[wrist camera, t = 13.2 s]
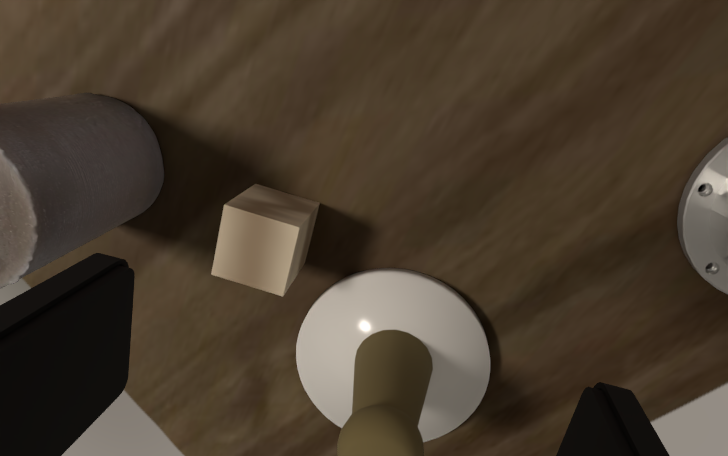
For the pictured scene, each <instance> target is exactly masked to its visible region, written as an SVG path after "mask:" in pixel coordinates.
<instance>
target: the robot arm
mask: <svg viewBox="0 0 728 456" xmlns="http://www.w3.org/2000/svg"><path fill="white" fill-rule="evenodd" d="M701 185H703V186H702V188H701V189H700V190H698V188H699V187H700V186H701ZM677 227H678V236H679V241H680V244H681V247H682V249H683V252H684V255H685V256H686V258H687V259H688V261H689V263H690V264H691V266H692V267H693V268H694V269H695V270H696V271H697V272H698V273H699V274H700V275H701V276H702V277H703V278H704V279H705V280H706V281H707V282H709V283H710V284H711V285H713V286H714V287H715V288H717V289H718V290H720V291H722V292H724V293H726V294H728V137H727V138H725V139H724V140H722V141H721V142H720V143H719V144H718V145H717V146H716V147H715V148H714V149H712V150H711V151H710V152H709V153H708V154H707V155H706V156H705V157H704V159H703V160H702V161H701V162H700V164H699V165H698V166H697V167H696V169H695V170H694V171H693V173H692V175H691V177H690V179H689V181H688V182H687V184H686V186H685V188H684V191H683V194H682V197H681V200H680V203H679V209H678V218H677ZM708 264H709V265H708ZM707 265H708V266H707ZM133 292H134V271H133V270H132V269H131V268H129V267H128V263H127V262H126V261H125V260H124V259H120V258H116V257H112V256H108V255H104V254H100V253H96V254H93V255H91V256H89V257H88V258H86V259H84V260H82V261H80V262H78V263H77V264H75V265H73V266H71V267H69V268H68V269H66V270H64V271H62V272H60V273H58V274H57V275H55V276H53V277H51V278H49V279H48V280H46V281H44V282H42V283H40V284H38V285H37V286H35V287H33V288H31V289H29V290H28V291H26V292H24V293H22V294H20V295H19V296H17V297H15V298H13V299H11V300H9V301H8V302H6V303H4V304H2V305H0V456H61V455H62V454H63V453H64V452H65V451H66V450H67V449H68V448H69V447H70V446H71V445H72V444H73V443H74V442H75V441H76V440H77V439H78V438H79V437H80V436H81V435H82V434H83V433H84V432H85V431H86V429H87V428H88V427H89V426H90V425H91V424H92V423H93V422H94V421H95V420H96V419H97V418H98V417H99V416H100V415H101V414H102V413H103V412H104V411H105V410H106V409H107V408H108V407H109V406H110V405H111V404H112V403H113V402H114V400H115V399H117V397H118V396H119V395H120V394H121V393H122V391H123V390H124V388H125V386H126V383H127V380H128V370H129V355H130V339H131V324H132V308H133ZM556 456H669V454H668V452H667V451H666V449H665V447H664V445H663V444H662V442H661V440H660V439H659V437H658V435H657V433H656V432H655V430H654V428H653V427H652V425H651V423H650V421H649V419H648V418H647V416H646V414H645V413H644V411H643V409H642V407H641V406H640V404H639V402H638V400H637V399H636V397H635V395H634V394H633V392H632V391H631V390H628V389H624V388H620V387H617V386H613V385H609V384H605V383H601V382H599V383H597V384H596V385H595V386H594V388H591V387H587V388H585V390H584V391H583V393H582V395H581V398H580V400H579V402H578V405H577V407H576V410H575V412H574V414H573V417H572V419H571V422H570V424H569V426H568V429H567V431H566V434H565V436H564V438H563V441H562V443H561V446H560V448H559V450H558V453H557V455H556Z"/></svg>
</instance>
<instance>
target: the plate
mask: <svg viewBox="0 0 728 456" xmlns="http://www.w3.org/2000/svg"><path fill="white" fill-rule="evenodd" d="M382 330H400V331H404V332H408V333H410V334H411V335H413V336H415V337H417V338H418V339H419V340H420V341H421V342H422V343H423V344H424V345H425V346H426V347H427V348H428V351H429V353H430V355H431V357H432V364H433V370H432V374H431V378H430V382H429V386H428V390H427V393H426V397H425V401H424V405H423V409H422V412H421V416H420V420H419V424H418V429H419V431H420V433H421V436H422V439H423V442H426V441H429V440H432V439H435V438H438V437H440V436H443V435H445V434H447V433H449V432H450V431H452V430H454V429H455V428H457V427H458V426H459V425H461V424H462V423H463V422H464V421H466V420H467V419H468V418H469V416H470V415H471V414H472V413H473V412H474V411H475V409H476V408H477V407H478V405H479V404H480V402H481V400H482V398H483V396H484V394H485V392H486V389H487V386H488V382H489V376H490V354H489V347H488V342H487V338H486V334H485V331H484V328H483V326H482V324H481V322H480V320H479V318H478V316H477V315H476V313H475V312H474V310H473V309H472V307H471V306H470V305H469V304H468V303H467V302H466V300H465V299H464V298H463V297H462V296H460V295H459V294H458V293H457V292H456V291H455V290H453V289H452V288H451V287H449V286H448V285H446V284H445V283H443V282H441V281H439V280H437V279H435V278H433V277H431V276H428V275H426V274H423V273H420V272H416V271H412V270H408V269H400V268H377V269H370V270H365V271H361V272H358V273H354V274H352V275H350V276H347V277H345V278H343V279H341V280H339V281H338V282H336V283H334V284H333V285H332V286H330V287H329V288H328V289H327V290H325V291H324V292H323V293H322V294H321V295H320V296H319V297H318V298H317V300H316V301H315V302H314V304H313V305H312V307H311V308H310V310H309V312H308V314H307V316H306V318H305V320H304V322H303V324H302V326H301V329H300V332H299V335H298V340H297V346H296V360H297V368H298V372H299V376H300V379H301V382H302V384H303V386H304V389H305V391H306V392H307V394H308V396H309V397H310V399H311V400H312V402H313V403H314V404H315V406H316V407H317V408H318V409H319V410H320V411H321V412H322V413H323V414H324V415H325V416H326V417H327V418H328V419H329V420H331V421H332V422H333V423H334V424H336V425H337V426H339V427H341V428H342V427H343V426H344V425H345V423H346V422H347V420H348V419H349V417H350V416H351V415H352V403H353V384H354V364H355V357H356V352H357V349H358V348H359V346H360V344H361V343H362V341H363V340H365V339H366V338H367V337H369V336H370V335H371V334H373V333H376V332H379V331H382Z"/></svg>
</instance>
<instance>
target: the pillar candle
mask: <svg viewBox="0 0 728 456" xmlns="http://www.w3.org/2000/svg"><path fill="white" fill-rule="evenodd" d="M163 182H164V167H163V160H162V154H161V151H160V147H159V144H158V141H157V138H156V136H155V133H154V132H153V130H152V129H151V127H150V125H149V124H148V123H147V122H146V120H145V119H144V118H143V117H142V116H141V115H140V114H139V113H137V112H136V111H135V110H134V109H133V108H132V107H130V106H129V105H127V104H125V103H123V102H121V101H119V100H117V99H114V98H111V97H107V96H102V95H96V94H92V93H82V94H75V95H69V96H62V97H55V98H45V99H37V100H29V101H21V102H13V103H5V104H0V288H2V287H5V286H7V285H9V284H14V283H16V282H18V281H19V279H20V278H22V277H24V276H26V275H27V274H30V273H31V272H33V271H35V270H37V269H39V268H41V267H43V266H45V265H47V264H48V263H50V262H52V261H54V260H56V259H58V258H59V257H62V256H63V255H65V254H67V253H69V252H70V251H72V250H74V249H76V248H78V247H80V246H82V245H84V244H86V243H87V242H89V241H91V240H93V239H95V238H97V237H99V236H101V235H103V234H104V233H106V232H108V231H110V230H112V229H113V228H115V227H117V226H119V225H121V224H123V223H125V222H126V221H128V220H130V219H132V218H134V217H136V216H138V215H140V214H141V213H143V212H144V211H145V210H146V209H148V208H149V207H150V206H151V205H152V204H153V202H154V201H155V200H156V198H157V197H158V195H159V193H160V190H161V188H162V185H163Z"/></svg>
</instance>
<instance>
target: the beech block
mask: <svg viewBox="0 0 728 456" xmlns="http://www.w3.org/2000/svg"><path fill="white" fill-rule="evenodd" d="M319 205H320V203H318V202H315V201H311V200H308V199H305V198H301V197H298V196H295V195H291V194H288V193H285V192H281V191H278V190H275V189H271V188H268V187H265V186H262V185H258V184H254V185H253V186H251V187H250V188H248V189H247V190H245V191H244V192H242V193H241V194H239V195H238V196H236V197H235V198H233V199H232V200H230V201H229V202H227V203H226V204H224V208H223V213H222V219H221V224H220V230H219V235H218V240H217V246H216V251H215V257H214V262H213V268H212V273H211V274H212V275H215V276H218V277H221V278H225V279H228V280H231V281H234V282H237V283H241V284H244V285H247V286H250V287H254V288H257V289H260V290H263V291H267V292H270V293H273V294H276V295H280V296H284V294H285V293H286V291H287V290H288V288H289V287H290V285H291V284H292V282H293V281H294V279H295V278H296V276H297V275H298V273H299V272H300V270H301V268H302V267H303V265H304V264H305V261H306V257H307V253H308V249H309V245H310V241H311V237H312V233H313V229H314V225H315V221H316V217H317V213H318V209H319Z"/></svg>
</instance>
